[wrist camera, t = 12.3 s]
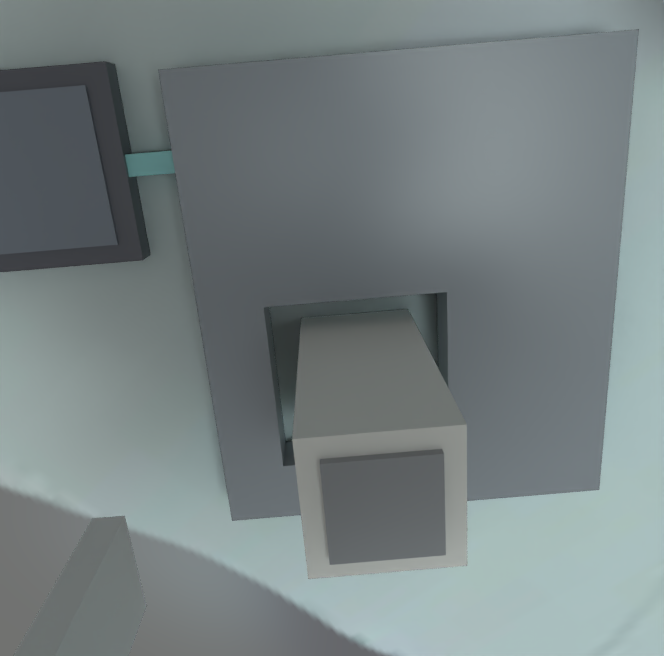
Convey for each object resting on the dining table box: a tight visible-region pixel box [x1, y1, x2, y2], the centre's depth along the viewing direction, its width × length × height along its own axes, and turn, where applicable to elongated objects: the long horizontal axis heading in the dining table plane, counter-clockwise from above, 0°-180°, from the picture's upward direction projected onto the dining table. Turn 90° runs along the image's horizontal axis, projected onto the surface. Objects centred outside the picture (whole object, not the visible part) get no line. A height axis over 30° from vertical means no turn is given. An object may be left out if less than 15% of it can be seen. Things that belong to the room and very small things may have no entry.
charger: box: [292, 309, 467, 579], centre depth 20 cm, size 4×4×10 cm
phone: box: [0, 62, 175, 272], centre depth 21 cm, size 7×20×1 cm, turn 94°
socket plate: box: [158, 29, 639, 521], centre depth 23 cm, size 18×16×2 cm
